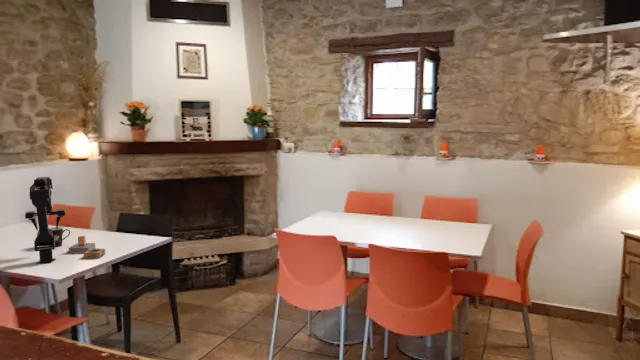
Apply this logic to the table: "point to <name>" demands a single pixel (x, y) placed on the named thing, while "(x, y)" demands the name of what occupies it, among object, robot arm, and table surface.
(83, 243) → the peg
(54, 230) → the coffee mug
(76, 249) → the port
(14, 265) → the table surface
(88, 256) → the tan flat square block
